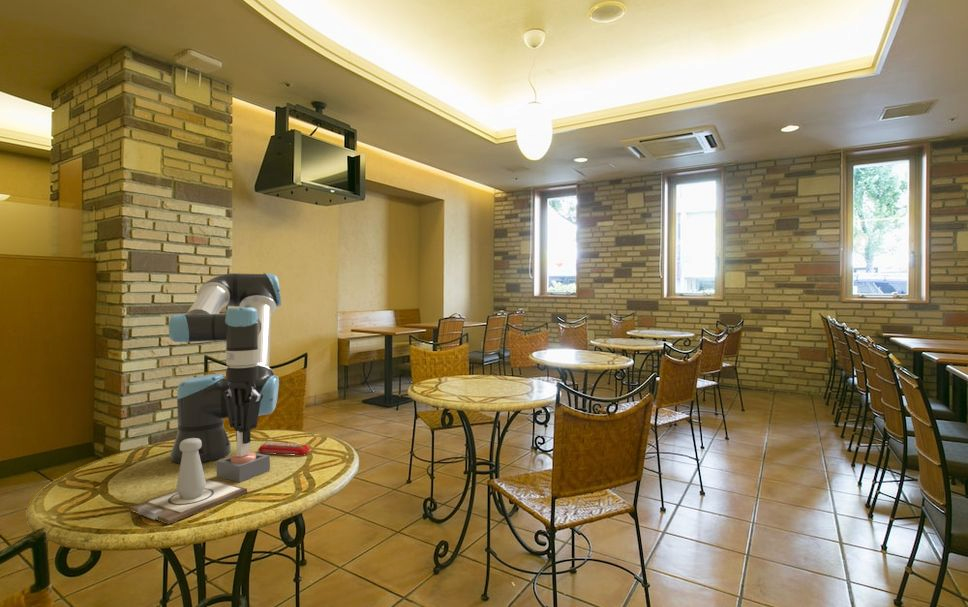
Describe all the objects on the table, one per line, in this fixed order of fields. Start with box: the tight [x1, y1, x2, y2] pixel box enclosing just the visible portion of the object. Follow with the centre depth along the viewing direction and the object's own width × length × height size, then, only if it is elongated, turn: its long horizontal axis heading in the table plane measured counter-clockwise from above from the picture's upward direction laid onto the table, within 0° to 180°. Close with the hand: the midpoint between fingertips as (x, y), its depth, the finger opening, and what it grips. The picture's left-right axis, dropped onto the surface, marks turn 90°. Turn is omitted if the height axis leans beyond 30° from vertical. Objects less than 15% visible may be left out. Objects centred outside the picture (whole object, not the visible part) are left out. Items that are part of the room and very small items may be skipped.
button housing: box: [216, 452, 271, 483], centre depth 128 cm, size 9×9×4 cm
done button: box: [230, 451, 257, 464], centre depth 128 cm, size 6×6×3 cm
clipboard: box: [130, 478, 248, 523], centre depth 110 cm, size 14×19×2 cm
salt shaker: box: [175, 438, 207, 500], centre depth 110 cm, size 6×6×13 cm
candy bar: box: [257, 441, 311, 456], centre depth 144 cm, size 16×4×3 cm, turn 79°
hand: (243, 454), depth 127 cm, fingers closed
